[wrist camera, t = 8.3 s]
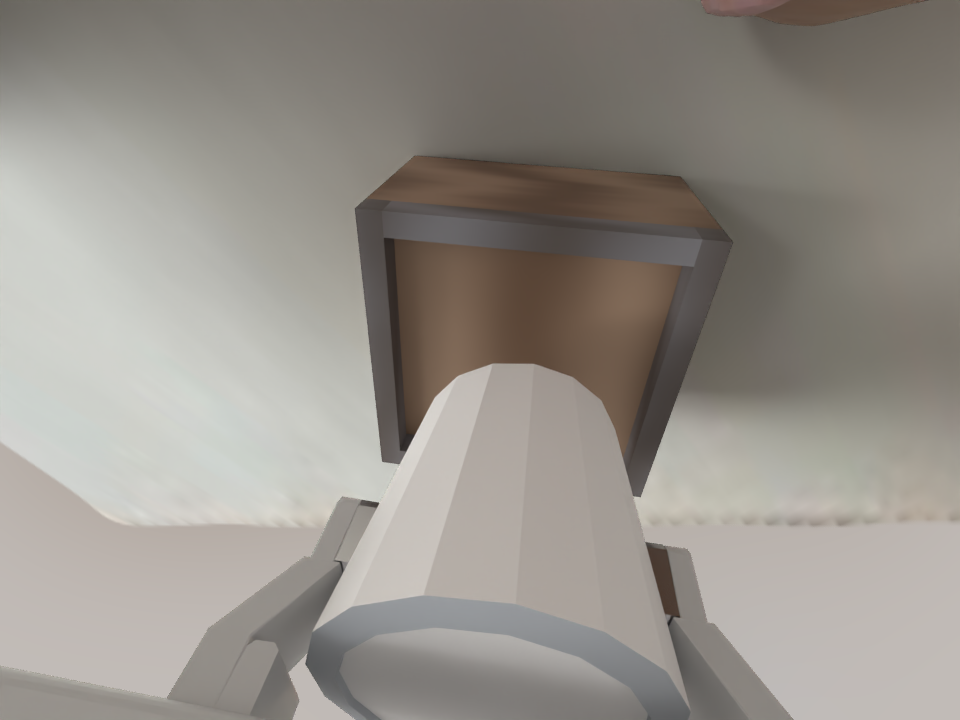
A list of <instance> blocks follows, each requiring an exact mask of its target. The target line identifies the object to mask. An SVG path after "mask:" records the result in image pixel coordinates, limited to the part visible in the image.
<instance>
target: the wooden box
mask: <svg viewBox="0 0 960 720" xmlns="http://www.w3.org/2000/svg"><path fill="white" fill-rule="evenodd" d="M355 214H356V223H357V232H358V242H359V251H360V260H361V269H362V279H363V288H364V297H365V307H366V316H367V325H368V335H369V344H370V353H371V362H372V372H373V381H374V390H375V400H376V409H377V418H378V428H379V437H380V446H381V455H382V462H387V463H395V464H400V463H401V461H402V459H403V457H404V455H405V453H406V452H407V450H408V448H409V446H410V444H411V442H412V440H413V438H414V436H415V434H416V432H417V430H418V429H419V427H420V425H421V423H422V421H423V419H424V417H425V415H426V413H427V411H428V409H429V408H430V406H431V404H432V402H433V400H434V398H435V397H436V396H437V395H438V394H439V393H440V392H441V391H442V390H443V389H444V388H445V387H446V386H448V385H449V384H450V383H451V382H452V381H453V380H454V379H455V378H456V377H457V376H459V375H462V374H464V373H467V372H470V371H473V370H476V369H479V368H482V367H484V366H487V365H490V364H493V363H495V364H536V365H539V366H542V367H545V368H548V369H551V370H554V371H557V372H559V373H562V374H565V375H568V376H571V377H573V378H575V379H576V380H577V381H578V382H579V383H581V384H582V385H583V386H584V387H586V388H587V389H588V390H589V391H590V392H592V393H593V394H594V395H595V396H596V397H598V398H599V399H600V400H601V401H602V403H603V405H604V407H605V409H606V411H607V413H608V415H609V417H610V420H611V422H612V424H613V426H614V428H615V431H616V435H617V438H618V442H619V446H620V449H621V453H622V457H623V461H624V464H625V468H626V472H627V475H628V479H629V483H630V487H631V490H632V494H633V496H636V497H641V494H642V492H643V489H644V486H645V483H646V481H647V478H648V475H649V472H650V470H651V467H652V464H653V461H654V459H655V456H656V453H657V450H658V448H659V445H660V442H661V439H662V437H663V434H664V431H665V428H666V426H667V423H668V420H669V417H670V415H671V412H672V409H673V406H674V404H675V401H676V398H677V395H678V393H679V390H680V387H681V384H682V382H683V379H684V376H685V373H686V371H687V368H688V365H689V362H690V360H691V357H692V354H693V351H694V349H695V346H696V343H697V340H698V337H699V335H700V332H701V329H702V326H703V324H704V321H705V318H706V315H707V313H708V310H709V307H710V304H711V302H712V299H713V296H714V293H715V291H716V288H717V285H718V282H719V280H720V277H721V274H722V271H723V269H724V266H725V263H726V260H727V258H728V255H729V252H730V249H731V247H732V244H733V242H732V240H731V239H730V238H729V237H728V235H727V234H726V233H725V232H724V230H723V229H722V228H721V227H720V225H719V224H718V223H717V222H716V220H715V219H714V218H713V217H712V215H711V214H710V213H709V212H708V210H707V209H706V208H705V207H704V205H703V204H702V203H701V202H700V200H699V199H698V198H697V197H696V195H695V194H694V193H693V192H692V190H691V189H690V188H689V187H688V185H687V184H686V183H685V182H684V180H683V179H682V178H681V177H678V176H666V175H653V174H640V173H627V172H615V171H602V170H589V169H576V168H564V167H551V166H538V165H525V164H513V163H500V162H487V161H474V160H462V159H449V158H436V157H423V156H414V157H413V158H412V159H411V160H409V161H408V162H407V163H406V164H405V165H404V166H403V167H402V168H400V169H399V170H398V171H397V172H396V173H395V174H394V175H392V176H391V177H390V178H389V179H388V180H387V181H386V182H384V183H383V184H382V185H381V186H380V187H379V188H378V189H377V190H375V191H374V192H373V193H372V194H371V195H370V196H369V197H367V198H366V199H365V200H364V201H363V202H362V203H361V204H360V205H358V206H357V207H356V208H355Z"/></svg>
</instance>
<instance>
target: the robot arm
mask: <svg viewBox="0 0 960 720" xmlns="http://www.w3.org/2000/svg"><path fill="white" fill-rule="evenodd" d="M378 505H379V503H378V502H372V501H366V500H361V499H355V498H348V497H342V498H341V499H340V500H339V501H338V502H337V504H336V506H335V508H334V510H333V512H332V514H331V516H330V518H329V520H328V522H327V524H326V526H325V528H324V531H323V533H322V535H321V537H320V539H319V541H318V543H317V545H316V547H315V549H314V551H313V554H312V555H311V557H306V556H304V557H303V558H302V559H300V560H299V561H298V562H296V563H295V564H294V565H293V566H291V567H290V568H289V569H287V570H286V571H284V572H283V573H282V574H280V575H279V576H278V577H276V578H275V579H274V580H272V581H271V582H270V583H268V584H267V585H266V586H264V587H263V588H262V589H261V590H259V591H258V592H256V593H255V594H254V595H253V596H251V597H250V598H248V599H247V600H246V601H244V602H243V603H242V604H240V605H239V606H238V607H236V608H235V609H234V610H232V611H231V612H230V613H229V614H227V615H226V616H224V617H223V618H222V619H220V620H219V621H218V622H216V623H215V624H214V625H212V626H211V627H210V628H209V629H208V630H207V632H206V633H205V635H204V637H203V638H202V640H201V642H200V643H199V645H198V647H197V648H196V650H195V652H194V653H193V655H192V657H191V658H190V660H189V662H188V664H187V665H186V667H185V668H184V670H183V672H182V674H181V675H180V677H179V678H178V680H177V682H176V683H175V685H174V687H173V688H172V690H171V692H170V693H169V695H168V697H167V699H165V698H160V697H155V696H150V695H145V694H140V693H135V692H130V691H125V690H120V689H115V688H110V687H105V686H100V685H95V684H90V683H85V682H80V681H75V680H69V679H65V678H59V677H54V676H50V675H45V674H40V673H34V672H29V671H24V670H19V669H14V668H9V667H4V666H0V720H292V719H293V716H294V713H295V711H296V708H297V705H298V703H299V698H298V695H297V692H296V690H295V688H294V685H293V683H292V681H291V678H290V676H289V674H288V672H289V671H290V670H291V669H292V668H293V667H294V666H295V665H296V664H297V663H298V662H299V661H300V660H301V659H302V658H303V657H304V656H305V655H306V654H307V653H308V649H309V645H310V640H311V635H312V631H313V629H314V628H315V626H316V624H317V622H318V620H319V618H320V616H321V614H322V612H323V610H324V608H325V606H326V605H327V603H328V601H329V599H330V597H331V595H332V593H333V591H334V589H335V587H336V585H337V584H338V582H339V580H340V578H341V576H342V574H343V572H344V570H345V568H346V566H347V564H348V562H349V561H350V559H351V557H352V555H353V553H354V551H355V549H356V547H357V545H358V543H359V541H360V540H361V538H362V536H363V534H364V532H365V530H366V528H367V526H368V524H369V522H370V520H371V518H372V517H373V515H374V513H375V511H376V509H377V507H378ZM646 546H647V550H648V554H649V557H650V561H651V565H652V569H653V572H654V576H655V580H656V583H657V587H658V591H659V595H660V598H661V602H662V606H663V609H664V613H665V617H666V621H667V624H668V628H669V632H670V636H671V639H672V643H673V647H674V650H675V654H676V658H677V662H678V665H679V669H680V673H681V676H682V680H683V684H684V688H685V691H686V695H687V699H688V702H689V706H690V710H691V713H690V716H689V719H688V720H793V718H792V717H791V716H790V715H789V714H788V712H787V711H786V710H785V709H784V708H783V706H782V705H781V704H780V703H779V702H778V700H777V699H776V698H775V697H774V695H773V694H772V693H771V692H770V691H769V689H768V688H767V687H766V686H765V685H764V683H763V682H762V681H761V680H760V678H759V677H758V676H757V675H756V674H755V672H754V671H753V670H752V669H751V667H750V666H749V665H748V664H747V663H746V661H745V660H744V659H743V658H742V657H741V655H740V654H739V653H738V652H737V650H736V649H735V648H734V647H733V646H732V644H731V643H730V642H729V641H728V639H727V638H726V637H725V636H724V635H723V633H722V632H721V631H720V630H719V629H718V627H717V626H716V625H715V624H713V623H708V622H707V618H706V614H705V610H704V606H703V602H702V598H701V594H700V590H699V586H698V582H697V578H696V574H695V570H694V566H693V562H692V558H691V554H690V552H689V551H688V550H687V549H685V548H679V547H671V546H663V545H662V544H655V543H647V542H646Z"/></svg>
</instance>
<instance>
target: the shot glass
mask: <svg viewBox="0 0 960 720" xmlns="http://www.w3.org/2000/svg"><path fill="white" fill-rule="evenodd" d="M306 666H307V667H308V669H309V671H310V672H311V674H312V676H313V677H314V679H315V681H316V682H317V684H318V686H319V687H320V689H321V691H322V692H323V694H324V695H325V697H327V698H328V699H329V700H331V701H332V702H333V703H335V704H336V705H337V706H338V707H340V708H341V709H342V710H344V711H345V712H346V713H348V714H349V715H350V716H352V717H353V718H354V719H356V720H688V719H689V716H690V713H691V710H690V706H689V702H688V699H687V695H686V691H685V688H684V684H683V680H682V676H681V673H680V669H679V665H678V662H677V658H676V654H675V650H674V647H673V643H672V639H671V636H670V632H669V628H668V624H667V621H666V617H665V613H664V609H663V606H662V602H661V598H660V595H659V591H658V587H657V583H656V580H655V576H654V572H653V569H652V565H651V561H650V557H649V554H648V550H647V546H646V542H645V539H644V535H643V531H642V528H641V524H640V520H639V516H638V513H637V509H636V505H635V502H634V498H633V494H632V490H631V487H630V483H629V479H628V475H627V472H626V468H625V464H624V461H623V457H622V453H621V449H620V446H619V442H618V438H617V435H616V431H615V428H614V426H613V424H612V422H611V420H610V417H609V415H608V413H607V411H606V409H605V407H604V405H603V403H602V401H601V400H600V399H599V398H598V397H596V396H595V395H594V394H593V393H592V392H590V391H589V390H588V389H587V388H586V387H584V386H583V385H582V384H581V383H579V382H578V381H577V380H576V379H575V378H573V377H571V376H568V375H565V374H562V373H559V372H557V371H554V370H551V369H548V368H545V367H542V366H539V365H536V364H495V363H493V364H490V365H487V366H484V367H482V368H479V369H476V370H473V371H470V372H467V373H464V374H462V375H459V376H457V377H456V378H455V379H454V380H453V381H452V382H451V383H450V384H449V385H448V386H446V387H445V388H444V389H443V390H442V391H441V392H440V393H439V394H438V395H437V396H436V397H435V398H434V400H433V402H432V404H431V406H430V408H429V409H428V411H427V413H426V415H425V417H424V419H423V421H422V423H421V425H420V427H419V429H418V430H417V432H416V434H415V436H414V438H413V440H412V442H411V444H410V446H409V448H408V450H407V452H406V453H405V455H404V457H403V459H402V461H401V463H400V465H399V467H398V469H397V471H396V473H395V474H394V476H393V478H392V480H391V482H390V484H389V486H388V488H387V490H386V492H385V494H384V496H383V497H382V499H381V501H380V503H379V505H378V507H377V509H376V511H375V513H374V515H373V517H372V518H371V520H370V522H369V524H368V526H367V528H366V530H365V532H364V534H363V536H362V538H361V540H360V541H359V543H358V545H357V547H356V549H355V551H354V553H353V555H352V557H351V559H350V561H349V562H348V564H347V566H346V568H345V570H344V572H343V574H342V576H341V578H340V580H339V582H338V584H337V585H336V587H335V589H334V591H333V593H332V595H331V597H330V599H329V601H328V603H327V605H326V606H325V608H324V610H323V612H322V614H321V616H320V618H319V620H318V622H317V624H316V626H315V628H314V629H313V631H312V635H311V640H310V645H309V649H308V654H307V659H306Z"/></svg>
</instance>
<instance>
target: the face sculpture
mask: <svg viewBox="0 0 960 720" xmlns="http://www.w3.org/2000/svg"><path fill="white" fill-rule="evenodd" d="M923 1H928V0H701V3H702V6H703V8H704V9H705V11H706V12H707V13H708V14H713V15H717V16H733V17H741V16H753V15H754V16H757V17H761V18H764V19H767V20H770V21H772V22H776V23H780V24H787V25H798V26H816V25H823V24H828V23H832V22H837V21H841V20H846V19H850V18H853V17H858V16H862V15H866V14H870V13H874V12H878V11H882V10H886V9H890V8H894V7H899V6H903V5H908V4H913V3H918V2H923Z"/></svg>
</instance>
